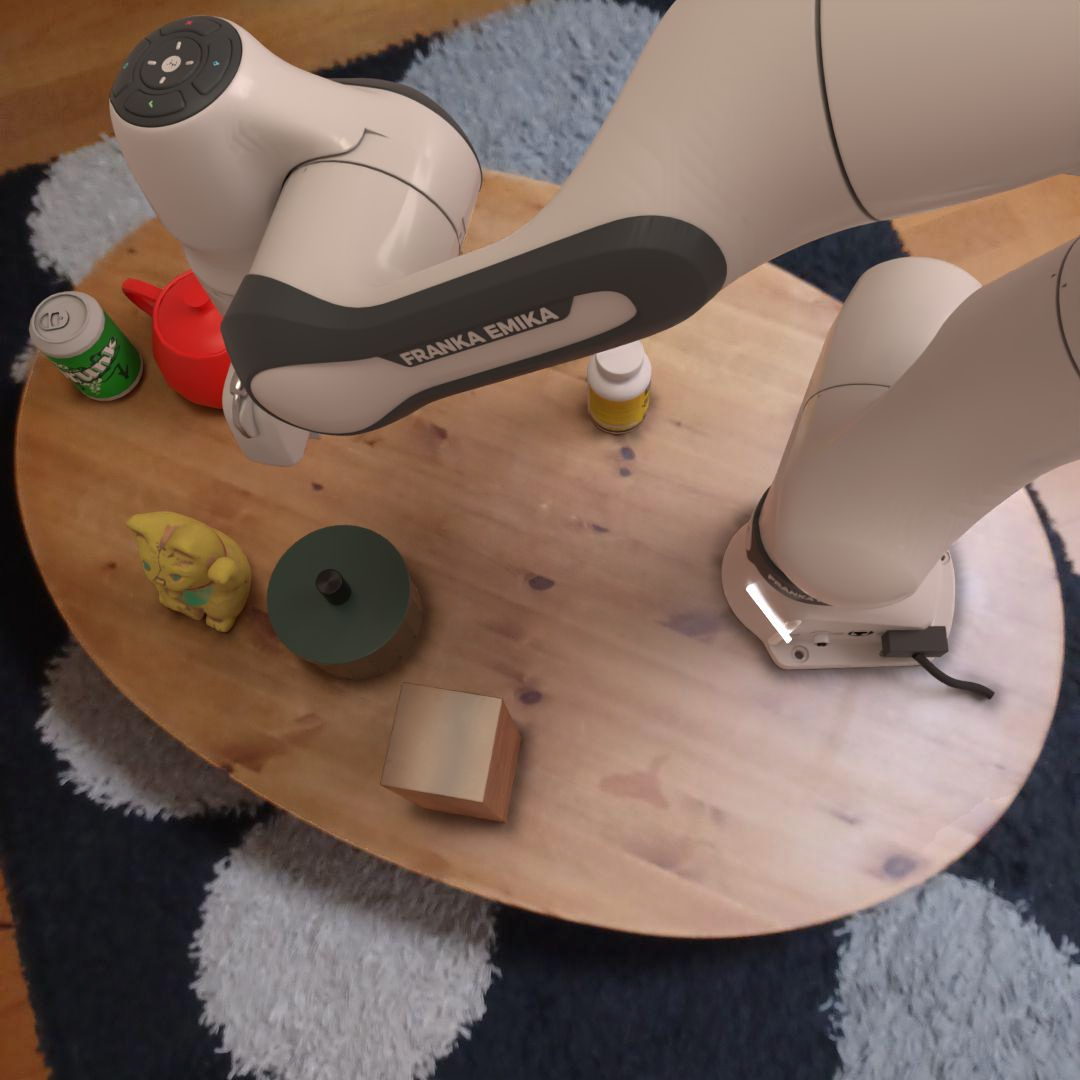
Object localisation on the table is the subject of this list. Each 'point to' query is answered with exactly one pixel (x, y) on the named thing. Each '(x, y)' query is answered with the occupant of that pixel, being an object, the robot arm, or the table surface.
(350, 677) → the tin
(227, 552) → the figurine
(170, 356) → the teapot
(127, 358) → the soda can
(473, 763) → the stand
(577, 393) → the table surface
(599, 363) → the pill bottle
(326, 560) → the tin lid
